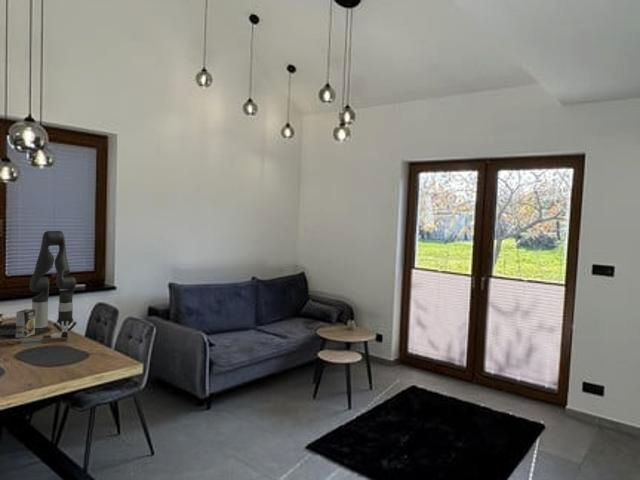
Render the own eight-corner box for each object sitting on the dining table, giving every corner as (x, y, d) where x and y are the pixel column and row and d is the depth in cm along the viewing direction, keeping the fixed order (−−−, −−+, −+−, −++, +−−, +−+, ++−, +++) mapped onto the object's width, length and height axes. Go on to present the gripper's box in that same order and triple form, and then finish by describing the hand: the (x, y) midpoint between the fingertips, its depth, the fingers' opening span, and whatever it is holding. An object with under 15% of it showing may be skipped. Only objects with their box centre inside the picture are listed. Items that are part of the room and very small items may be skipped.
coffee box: (25, 338, 278) (26, 312, 277) (15, 337, 278) (15, 311, 277) (35, 334, 287) (35, 309, 286) (25, 333, 287) (25, 308, 286)
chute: (43, 339, 277) (43, 334, 277) (67, 338, 283) (68, 333, 283) (41, 345, 266) (41, 339, 266) (66, 343, 272) (66, 338, 272)
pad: (22, 340, 272) (22, 339, 272) (43, 339, 277) (43, 338, 277) (19, 346, 262) (19, 345, 261) (41, 345, 266) (41, 344, 266)
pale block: (51, 339, 276) (51, 333, 276) (61, 339, 278) (61, 332, 278) (50, 342, 271) (50, 335, 271) (60, 341, 273) (60, 334, 273)
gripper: (78, 307, 282) (77, 335, 283) (53, 308, 276) (52, 336, 277) (77, 310, 275) (76, 338, 276) (52, 311, 270) (51, 340, 270)
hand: (64, 337), depth 277 cm, fingers closed
